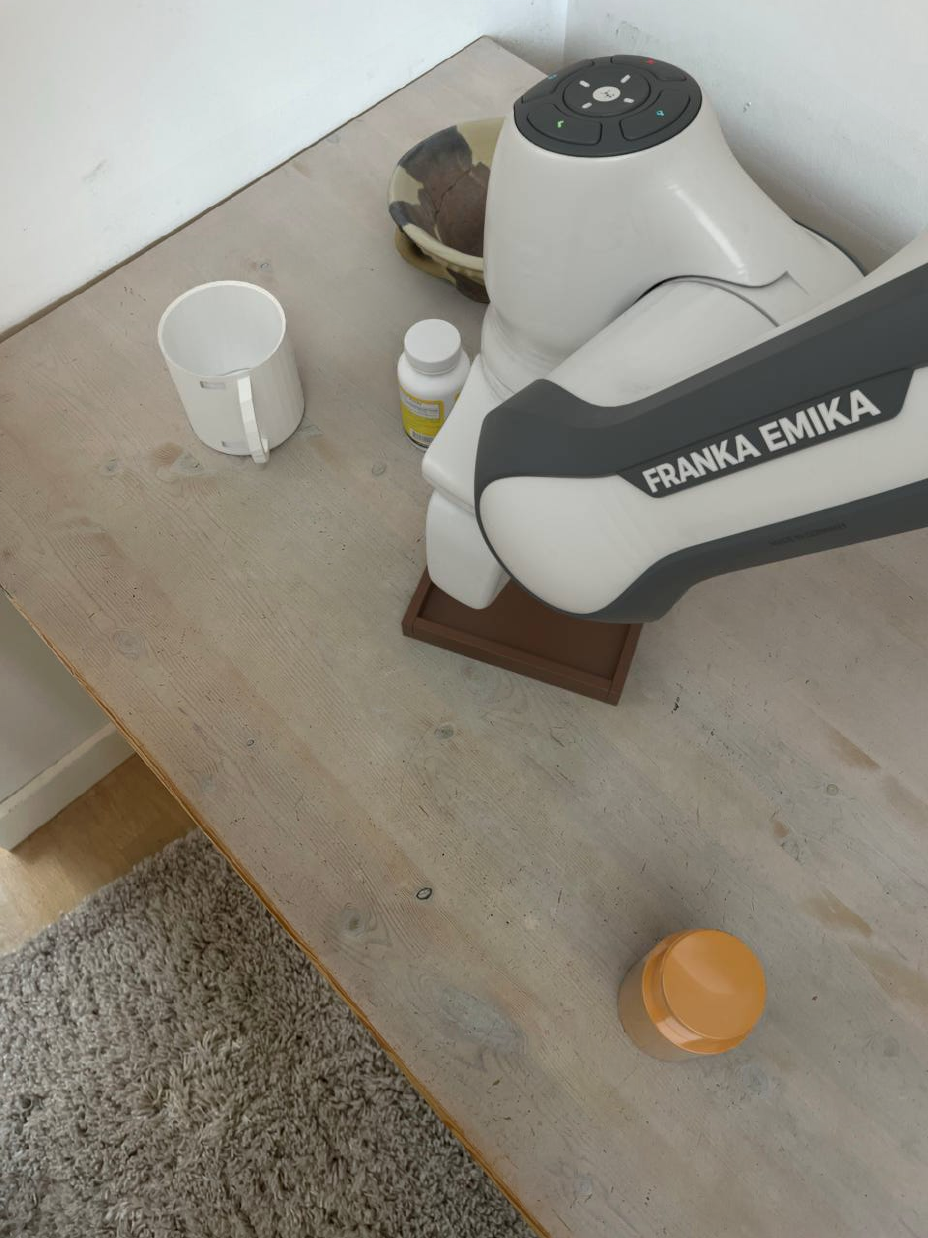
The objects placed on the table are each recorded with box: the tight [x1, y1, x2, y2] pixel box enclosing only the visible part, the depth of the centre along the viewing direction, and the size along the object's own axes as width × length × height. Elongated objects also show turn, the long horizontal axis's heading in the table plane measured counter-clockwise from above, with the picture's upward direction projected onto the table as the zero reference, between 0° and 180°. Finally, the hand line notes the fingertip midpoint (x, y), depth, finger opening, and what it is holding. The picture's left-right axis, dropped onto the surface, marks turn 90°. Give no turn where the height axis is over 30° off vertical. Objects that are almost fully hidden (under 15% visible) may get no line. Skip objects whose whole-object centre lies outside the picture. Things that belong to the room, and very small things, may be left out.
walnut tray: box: [401, 564, 645, 707], centre depth 69 cm, size 16×14×2 cm
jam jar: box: [617, 927, 767, 1063], centre depth 52 cm, size 6×6×12 cm
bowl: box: [386, 116, 507, 304], centre depth 80 cm, size 18×18×10 cm
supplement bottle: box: [396, 318, 472, 452], centre depth 73 cm, size 5×5×10 cm
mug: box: [157, 280, 305, 465], centre depth 73 cm, size 12×9×9 cm
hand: (545, 523), depth 62 cm, fingers closed on jam lid, 6 cm apart
